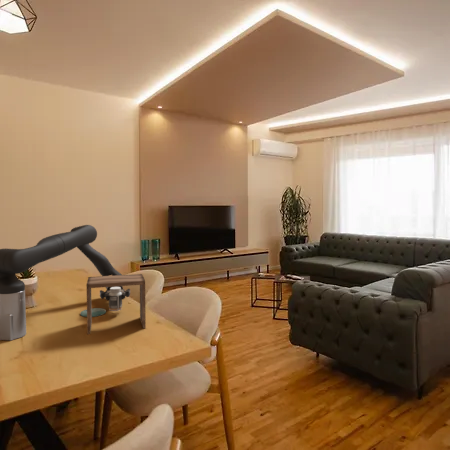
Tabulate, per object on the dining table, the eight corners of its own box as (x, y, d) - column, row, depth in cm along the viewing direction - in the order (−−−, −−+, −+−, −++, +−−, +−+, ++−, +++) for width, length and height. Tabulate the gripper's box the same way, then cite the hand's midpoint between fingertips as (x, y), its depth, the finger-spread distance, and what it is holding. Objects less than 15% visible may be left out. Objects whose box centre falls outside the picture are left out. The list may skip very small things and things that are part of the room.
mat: (99, 317, 156) (99, 316, 156) (75, 316, 157) (75, 315, 157) (110, 309, 167) (110, 308, 167) (88, 308, 168) (87, 307, 168)
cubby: (145, 328, 143) (145, 280, 142) (87, 334, 136) (86, 284, 135) (142, 317, 156) (142, 274, 155) (89, 322, 149) (88, 277, 148)
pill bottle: (117, 306, 163) (117, 285, 162) (124, 309, 159) (124, 287, 159) (106, 309, 158) (106, 287, 158) (113, 312, 155) (113, 290, 154)
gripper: (99, 282, 169) (98, 290, 154) (130, 280, 174) (132, 288, 158) (99, 297, 170) (98, 307, 154) (130, 295, 174) (132, 304, 158)
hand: (115, 297), depth 156 cm, fingers closed on pill bottle, 5 cm apart
